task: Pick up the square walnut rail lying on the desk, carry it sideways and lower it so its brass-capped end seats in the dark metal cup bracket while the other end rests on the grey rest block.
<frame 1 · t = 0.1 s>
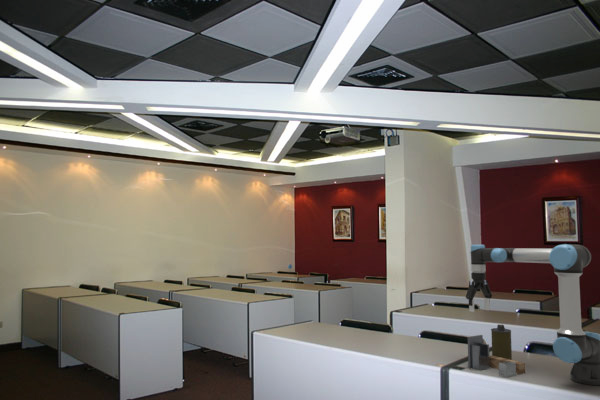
hand: (479, 310, 257), 28 cm above the table, fingers open, 13 cm apart
cup bracket: (478, 367, 244), on the table
rest block: (507, 375, 230), on the table
rail: (506, 369, 240), on the table
canister: (502, 362, 257), on the table
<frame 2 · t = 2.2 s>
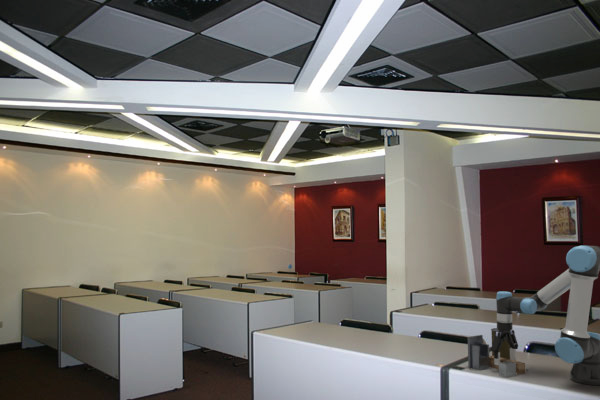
hand: (505, 363, 241), 3 cm above the table, fingers open, 13 cm apart
nothing on the table moved.
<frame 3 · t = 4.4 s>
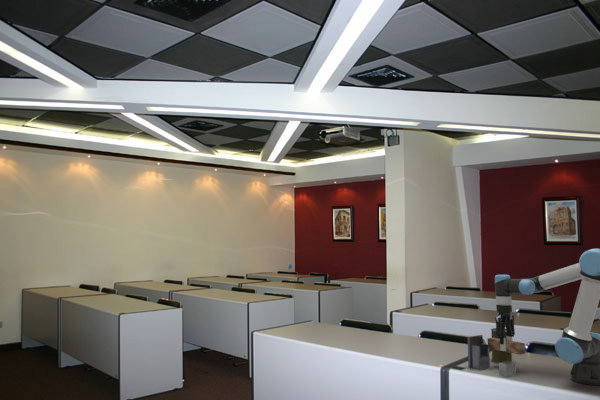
hand: (506, 349, 241), 10 cm above the table, fingers closed on rail, 5 cm apart
rail: (506, 350, 241), point 10 cm above the table, touching gripper
everything else where it was.
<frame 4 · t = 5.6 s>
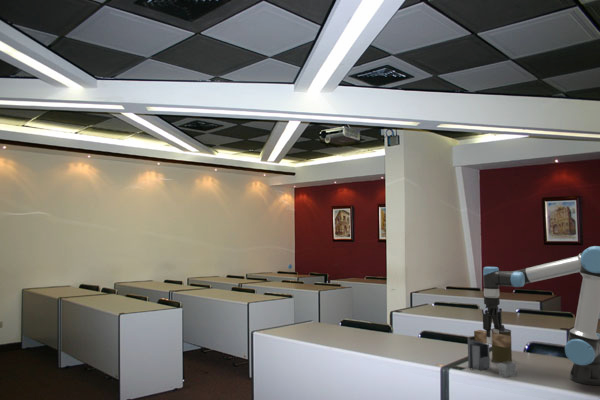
hand: (493, 342, 238), 14 cm above the table, fingers closed on rail, 5 cm apart
rail: (492, 343, 238), point 14 cm above the table, touching gripper
everything else where it was.
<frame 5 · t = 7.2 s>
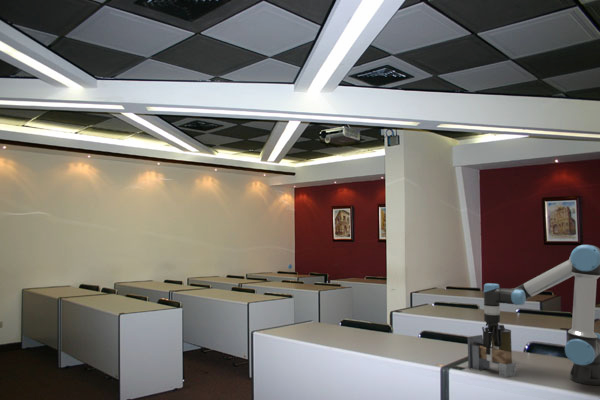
hand: (492, 360, 237), 6 cm above the table, fingers closed on rail, 5 cm apart
rail: (492, 359, 237), point 6 cm above the table, touching cup bracket, gripper, rest block
everything else where it was.
when the fingers open (6 cm above the table, at t = 7.8 s): rail stays where it is, resting on cup bracket, rest block.
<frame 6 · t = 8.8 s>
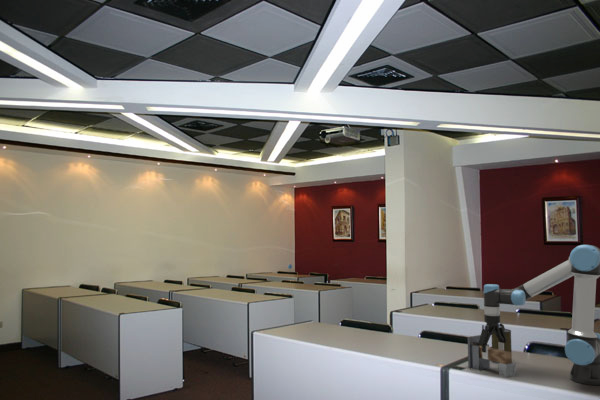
hand: (493, 357, 237), 7 cm above the table, fingers open, 13 cm apart
rail: (492, 359, 237), point 6 cm above the table, touching cup bracket, rest block
everything else where it was.
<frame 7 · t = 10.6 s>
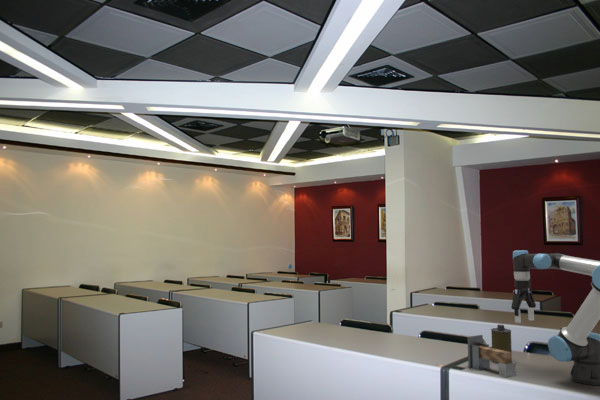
hand: (524, 321, 240), 25 cm above the table, fingers open, 13 cm apart
nothing on the table moved.
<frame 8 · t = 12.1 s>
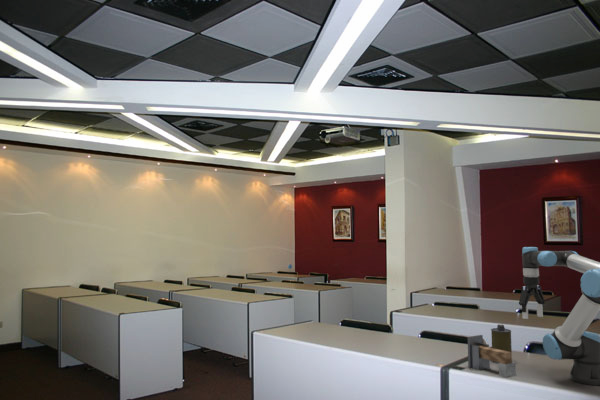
hand: (532, 317, 241), 27 cm above the table, fingers open, 13 cm apart
nothing on the table moved.
at the end: rail 1.5 cm from the target spot on the cup bracket, point 6.0 cm above the cup bracket's base; rail tilted 0°; the gripper is holding nothing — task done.
